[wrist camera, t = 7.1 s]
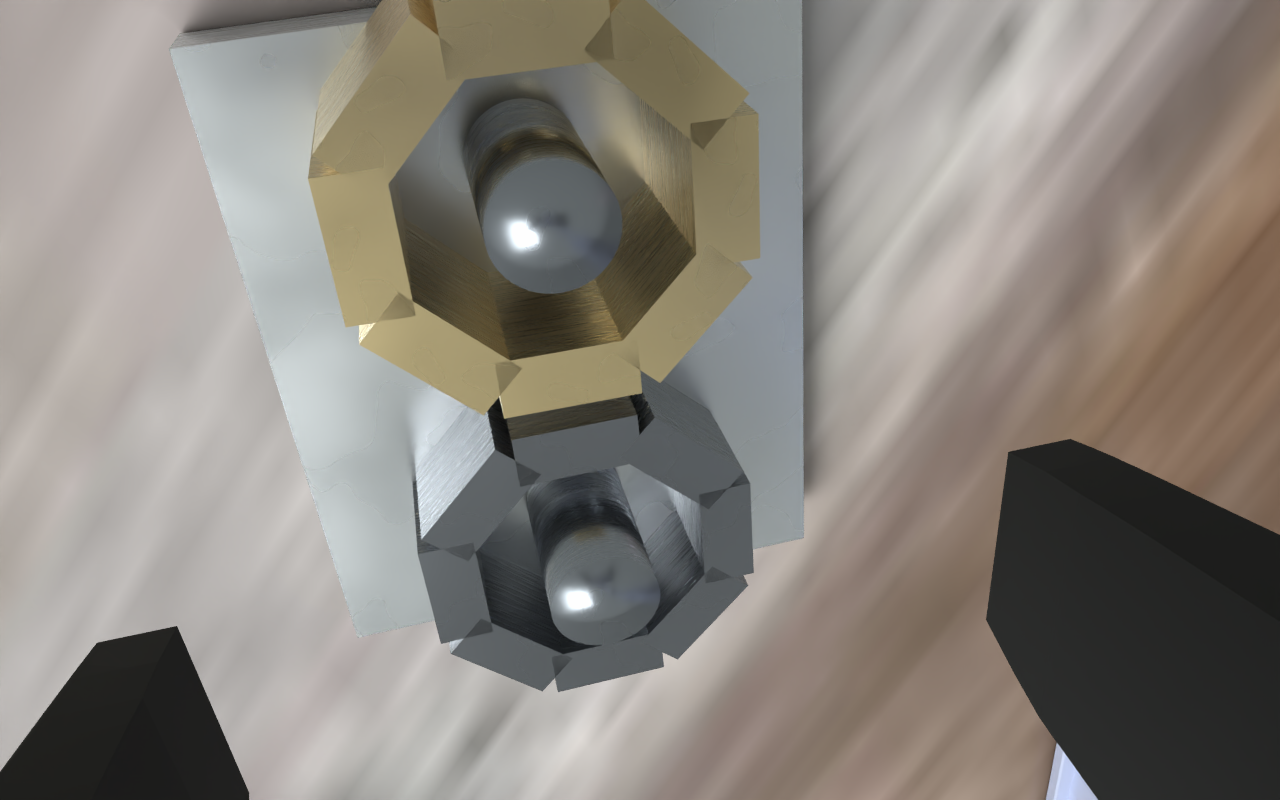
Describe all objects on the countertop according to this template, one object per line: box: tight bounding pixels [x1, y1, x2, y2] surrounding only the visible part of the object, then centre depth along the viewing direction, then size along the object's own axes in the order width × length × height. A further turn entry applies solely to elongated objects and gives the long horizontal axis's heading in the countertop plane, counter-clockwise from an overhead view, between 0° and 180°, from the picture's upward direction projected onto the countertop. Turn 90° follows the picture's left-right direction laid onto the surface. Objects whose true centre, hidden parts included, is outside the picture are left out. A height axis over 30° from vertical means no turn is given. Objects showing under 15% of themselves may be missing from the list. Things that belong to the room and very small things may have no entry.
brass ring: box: [308, 0, 760, 419], centre depth 15 cm, size 6×6×3 cm
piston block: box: [169, 0, 804, 692], centre depth 17 cm, size 9×12×4 cm
